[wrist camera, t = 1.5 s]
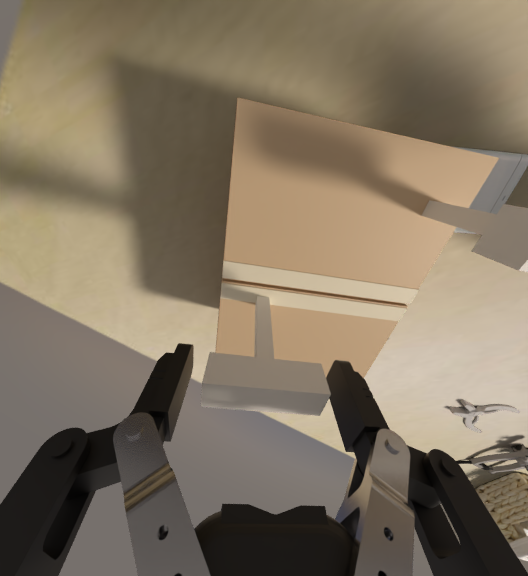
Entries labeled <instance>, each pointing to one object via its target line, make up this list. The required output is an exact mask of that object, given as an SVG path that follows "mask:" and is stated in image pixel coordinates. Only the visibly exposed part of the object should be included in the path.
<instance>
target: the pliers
mask: <svg viewBox="0 0 528 576" xmlns="http://www.w3.org/2000/svg"><path fill="white" fill-rule="evenodd" d="M460 402H461V403H462V404H463V405H464V406H465V407H464V408H458V407H449V409H450V411H451V412H452V413H453V414H454V415H458V416H461V417H464V423H465V425H466V426H467V427H468V428H469V429H471V430H473V431H475V432H480V433H481V432H482V431H481V430H480V429H478V428H476V427H475V426H474V424H475V423H476V422H477V421H478V419H479V416H478V415H483V414H488V413H494V412H497V411H500V410H507V411H512V412H516V413H519V412H520V411H519V410H517V409H516V408H515V407H512V406H509V405H502V404H494V405H486V406H477V408H475V407H474V406H473V405H472V404H471V403H469V402H467V401H465V400H463V399H462V400H460ZM489 410H490V411H489ZM475 416H476V418H475V420H474V421H473V422H472V420H473V417H475Z"/></svg>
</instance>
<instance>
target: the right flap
mask: <svg viewBox="0 0 528 576" xmlns="http://www.w3.org/2000/svg"><path fill="white" fill-rule="evenodd" d="M406 310H407V306H406V305H405V304H403V303H396V302H389V301H382V300H375V299H367V298H360V297H353V296H346V295H339V294H332V293H325V292H317V291H310V290H303V289H296V288H289V287H282V286H275V285H267V284H260V283H253V282H246V281H239V280H232V279H224V278H223V279H222V284H221V296H220V309H219V321H218V333H217V344H216V353H212V352H210V354H209V358H208V362H207V366H206V370H205V374H204V378H203V381H202V396H201V407H210V408H224V409H236V410H250V411H263V412H276V413H289V414H303V415H316V416H320V414H321V412H322V410H323V408H324V407H325V405H326V403H327V401H328V399H329V397H330V395H331V393H330V390H329V387H328V383H327V380H326V377H327V374H328V372H329V370H330V368H331V366H332V364H333V362H334V361H335V360H341V361H349V362H350V363H351V365H352V367H353V370H354V371H355V372H358V373H359V374H360V375H361V376H362V377H363V378H364V377H365V375H366V373H367V372H368V370H369V368H370V367H371V365H372V364H373V362H374V360H375V359H376V357H377V356H378V354H379V352H380V351H381V349H382V347H383V346H384V344H385V343H386V341H387V339H388V338H389V336H390V334H391V333H392V331H393V330H394V328H395V326H396V325H397V323H398V321H399V322H400V320H401V318H402V317H403V315H404V314H405V312H406Z"/></svg>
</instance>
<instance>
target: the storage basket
mask: <svg viewBox="0 0 528 576" xmlns="http://www.w3.org/2000/svg"><path fill="white" fill-rule="evenodd" d="M476 492H477V493H478V495H479V497H480V498H481V500H482V502H484V505H485V506H486V508H487V510H488V511H489V513H490V514H491V516H492V518H493V519H494V521H495V522H496V523H497V525H498V527H499V529H500V530H501V532H502V533H503V535H504V537H505V538H506V540H507V541H508V543H509V545H510V546H511V548H512V549H513V551H514V553H515V554H516V556H517V557H518V558H520V559H523V560H526V561H528V475H524V474H520V473H511V474H509V475H507V476H503V477H501V478H500V479H496V480H493V481H491V482H488V483H486V484H485V485H481V486H479V487H478V488H476ZM486 502H488V503H486Z"/></svg>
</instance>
